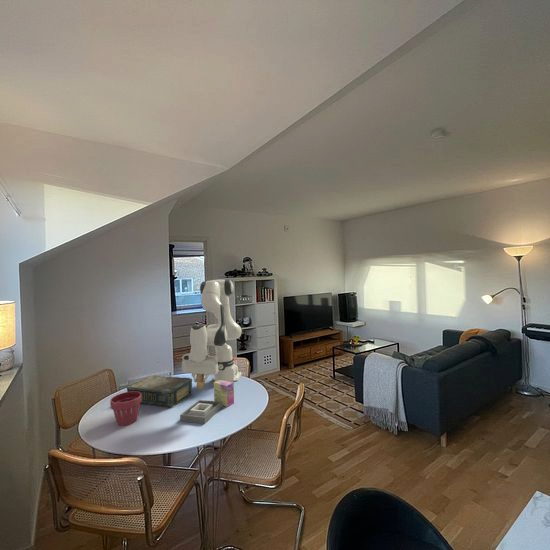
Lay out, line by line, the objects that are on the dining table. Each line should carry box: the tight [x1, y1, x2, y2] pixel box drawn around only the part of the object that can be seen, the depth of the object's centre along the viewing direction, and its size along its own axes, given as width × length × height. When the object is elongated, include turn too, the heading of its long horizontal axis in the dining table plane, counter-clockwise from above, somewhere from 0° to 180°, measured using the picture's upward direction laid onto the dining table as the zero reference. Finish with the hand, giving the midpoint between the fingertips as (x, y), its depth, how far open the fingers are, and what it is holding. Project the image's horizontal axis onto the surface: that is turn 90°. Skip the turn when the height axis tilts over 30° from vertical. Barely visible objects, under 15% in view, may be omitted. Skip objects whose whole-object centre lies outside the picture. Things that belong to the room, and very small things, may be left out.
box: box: [213, 380, 235, 408], centre depth 164 cm, size 10×6×12 cm, turn 56°
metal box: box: [126, 375, 193, 408], centre depth 175 cm, size 21×32×10 cm, turn 71°
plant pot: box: [109, 391, 142, 427], centre depth 147 cm, size 14×14×13 cm
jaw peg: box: [196, 374, 206, 391], centre depth 152 cm, size 4×4×8 cm
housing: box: [179, 399, 223, 425], centre depth 152 cm, size 18×14×4 cm
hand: (200, 381), depth 152 cm, fingers closed on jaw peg, 4 cm apart
